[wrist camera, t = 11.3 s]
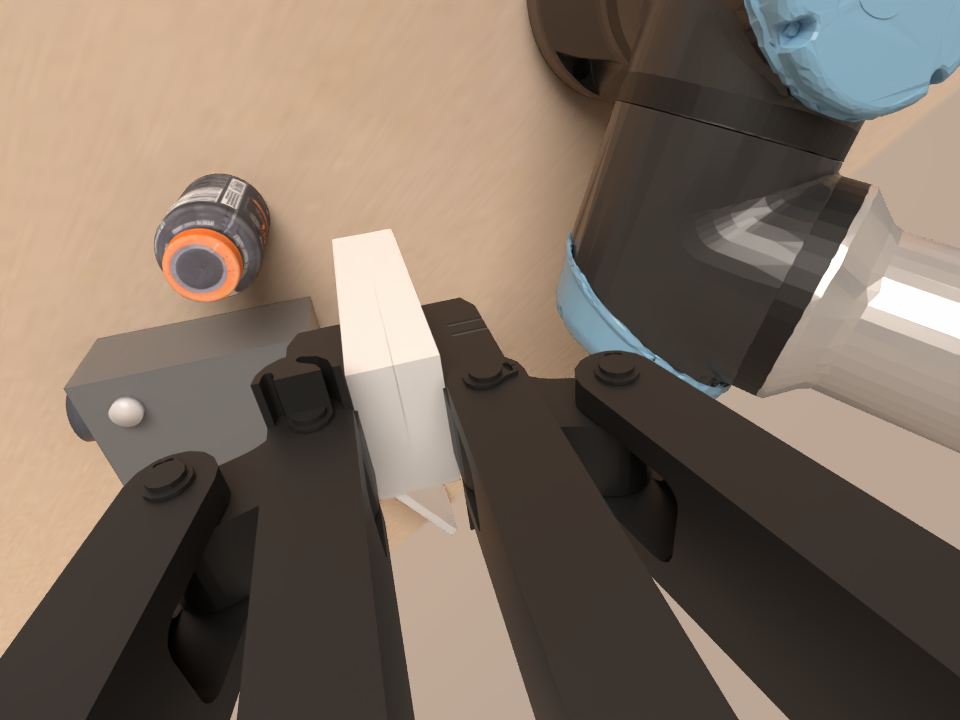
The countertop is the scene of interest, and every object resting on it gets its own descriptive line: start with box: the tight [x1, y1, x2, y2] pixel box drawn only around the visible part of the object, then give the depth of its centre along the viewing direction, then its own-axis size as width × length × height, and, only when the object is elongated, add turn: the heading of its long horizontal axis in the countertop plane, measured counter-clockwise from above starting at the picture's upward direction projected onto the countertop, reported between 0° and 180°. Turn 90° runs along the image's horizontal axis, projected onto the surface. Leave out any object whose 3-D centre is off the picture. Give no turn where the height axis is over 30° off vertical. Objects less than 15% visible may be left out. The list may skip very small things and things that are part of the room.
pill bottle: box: [154, 174, 270, 302], centre depth 36 cm, size 6×6×11 cm
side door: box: [396, 485, 457, 535], centre depth 52 cm, size 15×1×6 cm, turn 39°
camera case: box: [64, 297, 320, 486], centre depth 43 cm, size 18×11×8 cm, turn 97°
